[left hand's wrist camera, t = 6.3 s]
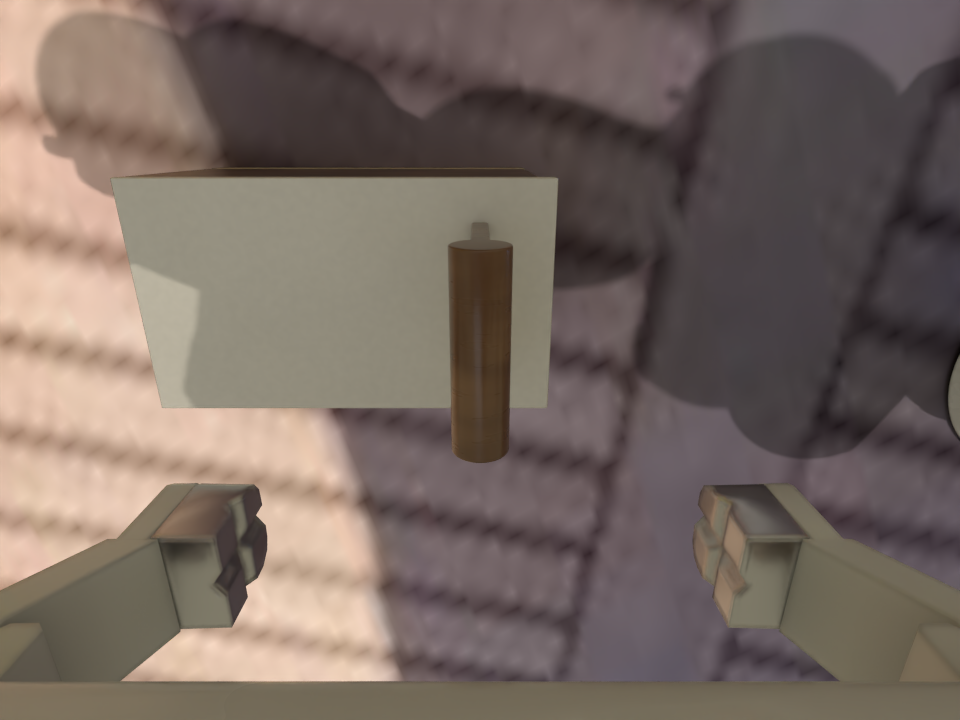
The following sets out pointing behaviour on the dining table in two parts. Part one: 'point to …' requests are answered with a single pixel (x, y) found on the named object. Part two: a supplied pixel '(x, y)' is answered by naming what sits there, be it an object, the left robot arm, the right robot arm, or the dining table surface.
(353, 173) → the chest
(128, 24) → the dining table surface
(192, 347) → the lid
